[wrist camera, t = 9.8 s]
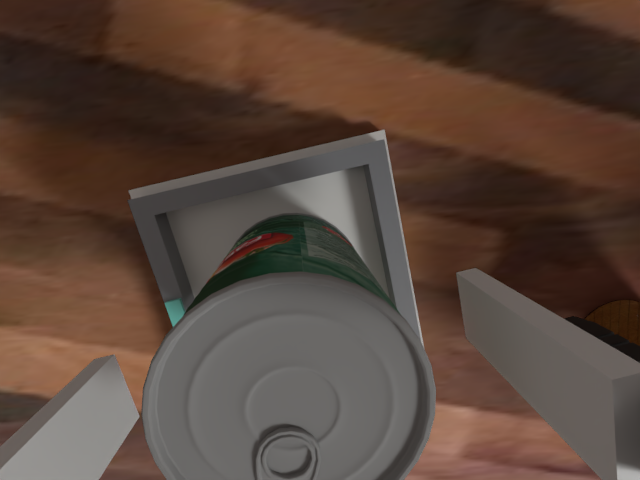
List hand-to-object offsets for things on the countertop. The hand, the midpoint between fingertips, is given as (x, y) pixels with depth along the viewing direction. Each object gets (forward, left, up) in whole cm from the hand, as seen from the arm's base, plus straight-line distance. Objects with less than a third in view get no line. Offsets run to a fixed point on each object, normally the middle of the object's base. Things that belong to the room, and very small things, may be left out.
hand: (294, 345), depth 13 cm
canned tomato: (0, 0, -7) cm, 7 cm away
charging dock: (0, 0, -8) cm, 8 cm away
